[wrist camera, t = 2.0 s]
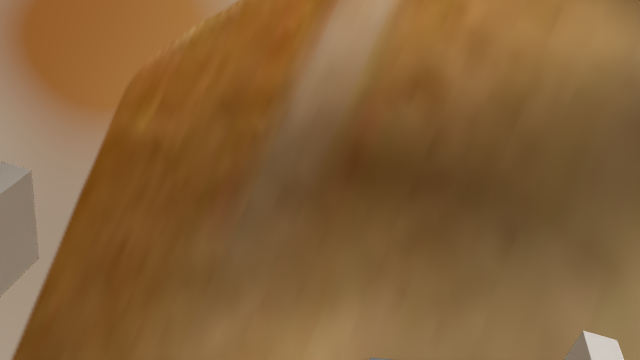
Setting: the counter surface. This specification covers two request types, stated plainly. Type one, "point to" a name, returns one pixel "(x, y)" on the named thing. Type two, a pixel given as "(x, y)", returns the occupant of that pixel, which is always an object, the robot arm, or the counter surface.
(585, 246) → the counter surface
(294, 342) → the counter surface
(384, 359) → the pad
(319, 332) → the counter surface
